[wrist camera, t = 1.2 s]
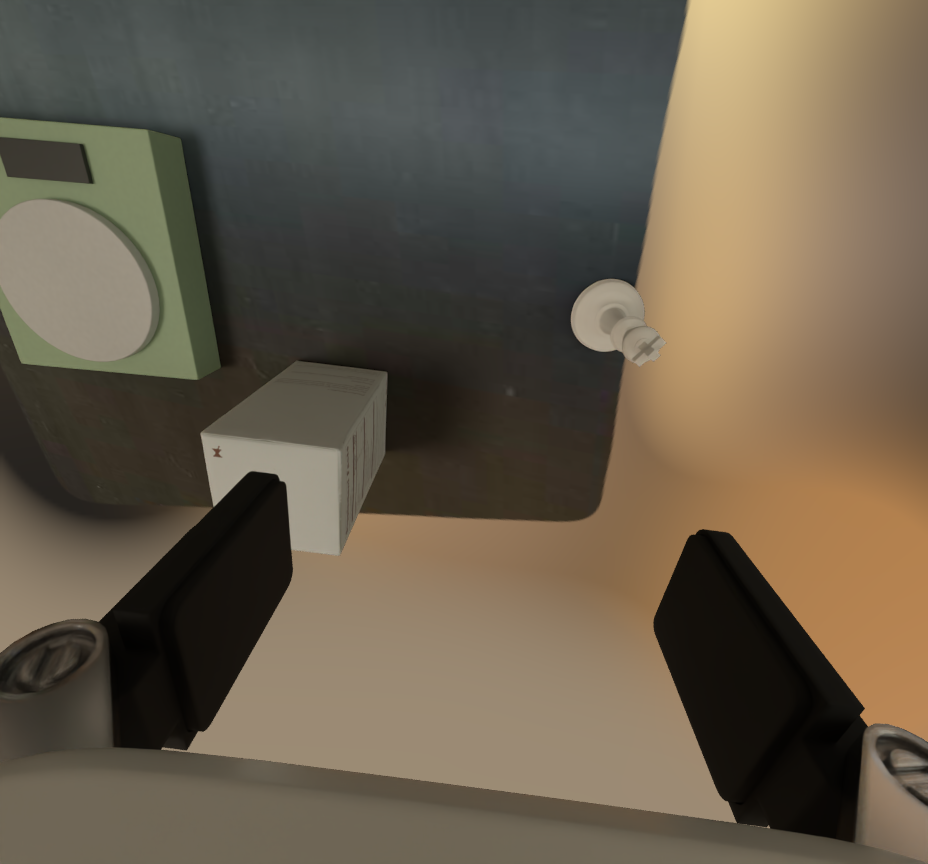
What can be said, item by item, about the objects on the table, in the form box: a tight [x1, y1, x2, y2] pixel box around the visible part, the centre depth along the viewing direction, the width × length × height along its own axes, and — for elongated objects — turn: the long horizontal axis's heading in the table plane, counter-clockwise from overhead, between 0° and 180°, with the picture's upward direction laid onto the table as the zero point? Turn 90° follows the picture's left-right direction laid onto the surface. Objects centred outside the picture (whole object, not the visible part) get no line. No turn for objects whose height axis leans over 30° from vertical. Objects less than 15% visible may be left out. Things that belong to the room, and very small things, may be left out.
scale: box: [0, 117, 221, 380], centre depth 29 cm, size 15×13×4 cm
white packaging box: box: [201, 361, 388, 556], centre depth 29 cm, size 7×7×13 cm
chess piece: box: [571, 279, 666, 367], centre depth 26 cm, size 5×5×10 cm
